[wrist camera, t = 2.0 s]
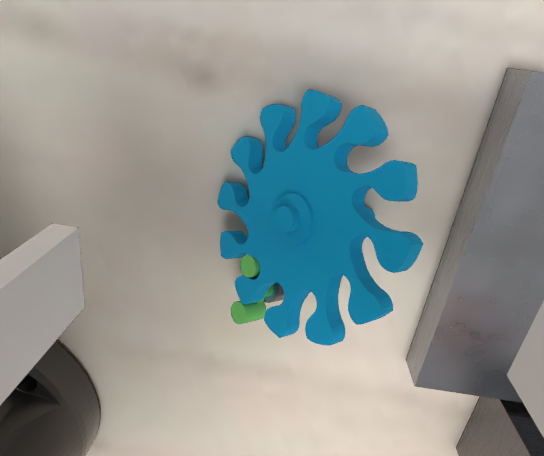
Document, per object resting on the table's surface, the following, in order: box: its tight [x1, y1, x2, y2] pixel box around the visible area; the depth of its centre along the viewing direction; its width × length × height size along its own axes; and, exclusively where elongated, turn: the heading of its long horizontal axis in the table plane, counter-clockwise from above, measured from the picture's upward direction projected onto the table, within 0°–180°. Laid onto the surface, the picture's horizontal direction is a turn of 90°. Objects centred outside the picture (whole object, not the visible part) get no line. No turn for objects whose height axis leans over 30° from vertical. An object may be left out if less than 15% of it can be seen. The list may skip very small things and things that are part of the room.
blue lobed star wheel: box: [218, 89, 423, 345], centre depth 18 cm, size 11×6×10 cm
